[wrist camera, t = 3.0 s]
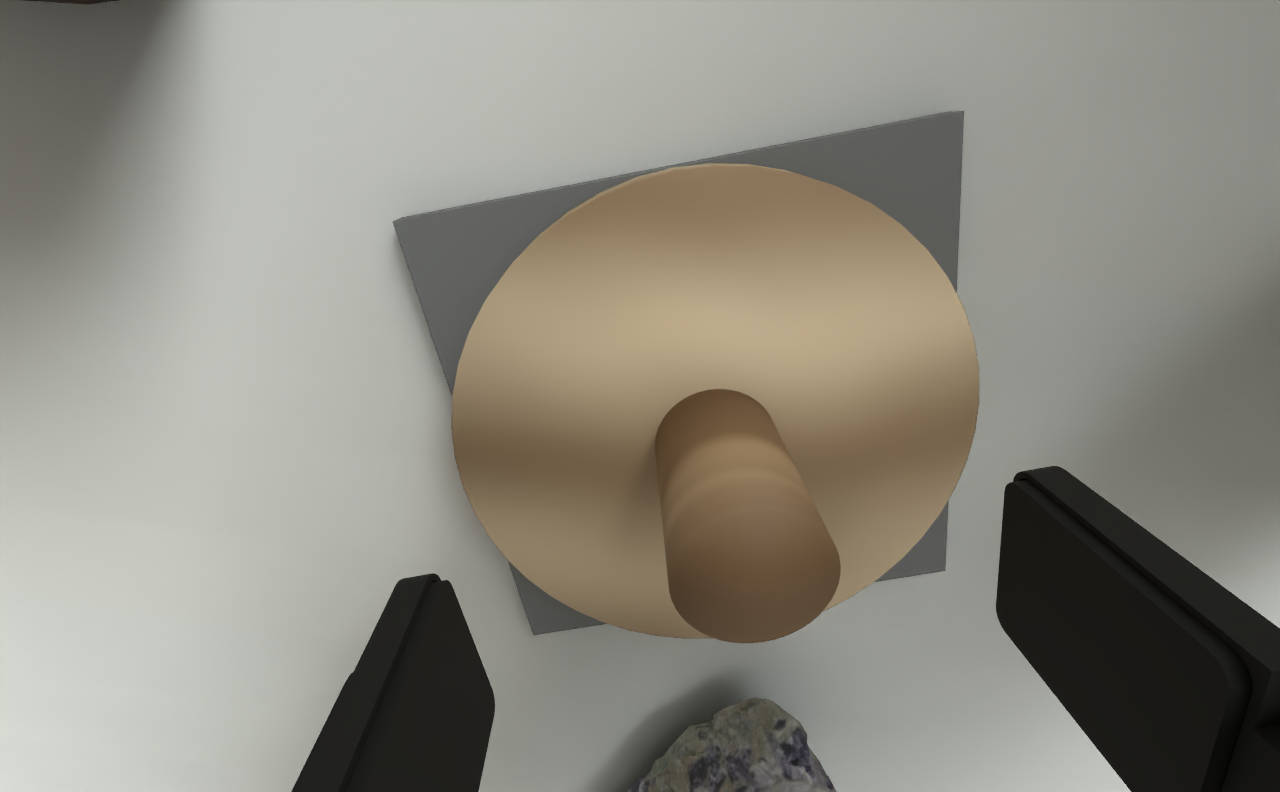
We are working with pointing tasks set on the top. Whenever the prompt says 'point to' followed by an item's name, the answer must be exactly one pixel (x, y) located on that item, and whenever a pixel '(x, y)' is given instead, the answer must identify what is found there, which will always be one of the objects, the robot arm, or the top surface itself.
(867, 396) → the lid
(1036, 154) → the top surface
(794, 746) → the mineral rock
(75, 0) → the coffee mug
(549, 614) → the mat
